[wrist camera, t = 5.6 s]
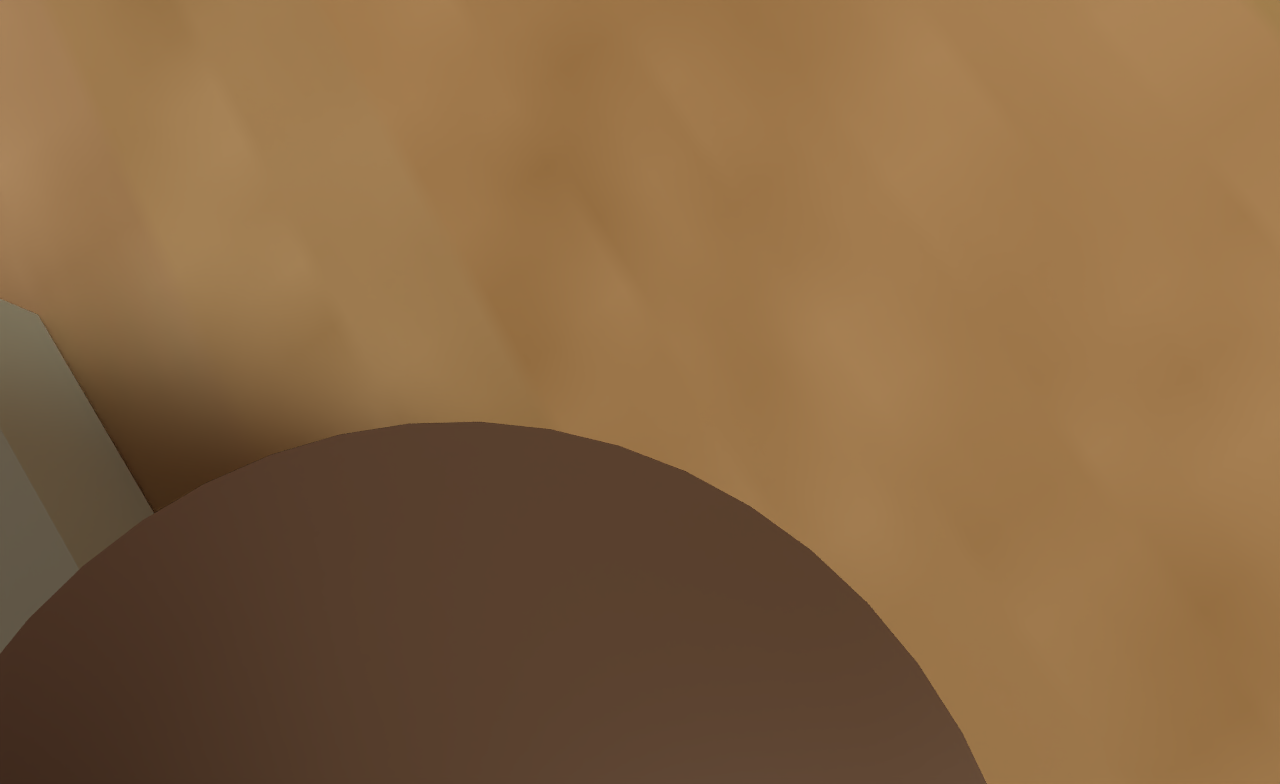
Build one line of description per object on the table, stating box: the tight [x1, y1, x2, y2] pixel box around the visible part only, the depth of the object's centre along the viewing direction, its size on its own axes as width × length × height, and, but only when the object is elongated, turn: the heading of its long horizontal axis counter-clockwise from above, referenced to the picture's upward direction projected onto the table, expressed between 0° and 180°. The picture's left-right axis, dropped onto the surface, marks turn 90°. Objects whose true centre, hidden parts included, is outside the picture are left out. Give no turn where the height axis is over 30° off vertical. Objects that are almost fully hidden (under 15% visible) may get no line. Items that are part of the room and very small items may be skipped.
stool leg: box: [0, 422, 987, 784], centre depth 10 cm, size 4×4×12 cm
